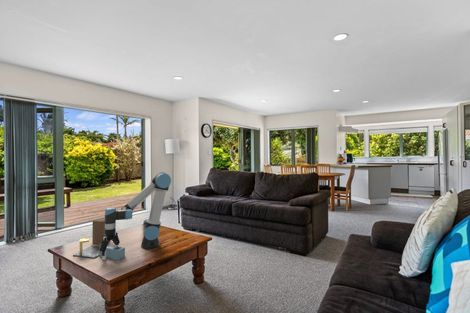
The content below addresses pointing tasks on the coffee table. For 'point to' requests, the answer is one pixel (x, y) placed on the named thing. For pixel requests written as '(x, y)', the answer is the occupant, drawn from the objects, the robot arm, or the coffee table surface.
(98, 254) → the plate
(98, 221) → the wooden block
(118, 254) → the link
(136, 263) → the coffee table surface
